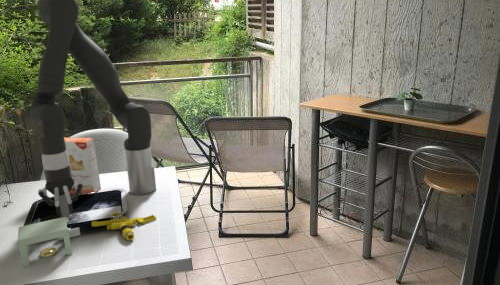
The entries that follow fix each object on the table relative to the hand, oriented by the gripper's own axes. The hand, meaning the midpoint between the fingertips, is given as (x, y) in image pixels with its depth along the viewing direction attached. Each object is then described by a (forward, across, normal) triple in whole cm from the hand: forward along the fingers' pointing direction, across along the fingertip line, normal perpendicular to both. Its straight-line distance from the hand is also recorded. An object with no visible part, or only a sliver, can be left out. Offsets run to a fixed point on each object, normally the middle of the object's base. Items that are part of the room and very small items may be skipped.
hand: (65, 214), depth 132 cm
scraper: (+2, 0, +6) cm, 6 cm away
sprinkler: (+2, -16, +18) cm, 24 cm away
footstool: (+2, +6, +20) cm, 21 cm away
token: (+2, +6, +20) cm, 21 cm away
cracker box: (+2, -7, -21) cm, 22 cm away
